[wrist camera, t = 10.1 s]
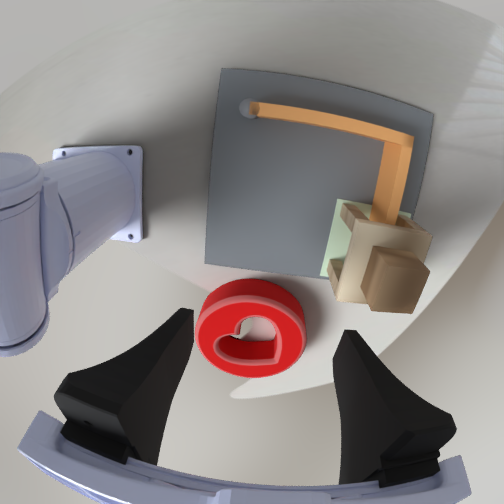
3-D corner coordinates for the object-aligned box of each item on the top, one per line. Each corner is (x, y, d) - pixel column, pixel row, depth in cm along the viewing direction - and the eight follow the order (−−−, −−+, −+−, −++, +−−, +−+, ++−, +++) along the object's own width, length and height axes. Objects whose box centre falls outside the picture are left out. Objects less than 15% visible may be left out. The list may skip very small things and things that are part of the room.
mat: (206, 260, 23) (204, 263, 22) (222, 70, 17) (221, 68, 16) (388, 283, 23) (390, 286, 22) (429, 114, 17) (433, 114, 16)
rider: (326, 270, 22) (345, 327, 16) (342, 203, 20) (374, 239, 13) (387, 277, 22) (419, 330, 16) (406, 215, 20) (453, 254, 13)
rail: (229, 250, 22) (223, 269, 19) (244, 101, 17) (240, 97, 14) (366, 268, 22) (377, 288, 19) (398, 132, 17) (417, 134, 14)
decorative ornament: (278, 366, 28) (279, 388, 25) (191, 339, 27) (184, 361, 24) (322, 298, 24) (327, 320, 21) (217, 261, 23) (210, 281, 20)
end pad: (319, 275, 22) (320, 275, 22) (337, 198, 20) (337, 198, 19) (388, 283, 22) (388, 283, 22) (410, 213, 20) (411, 213, 19)
